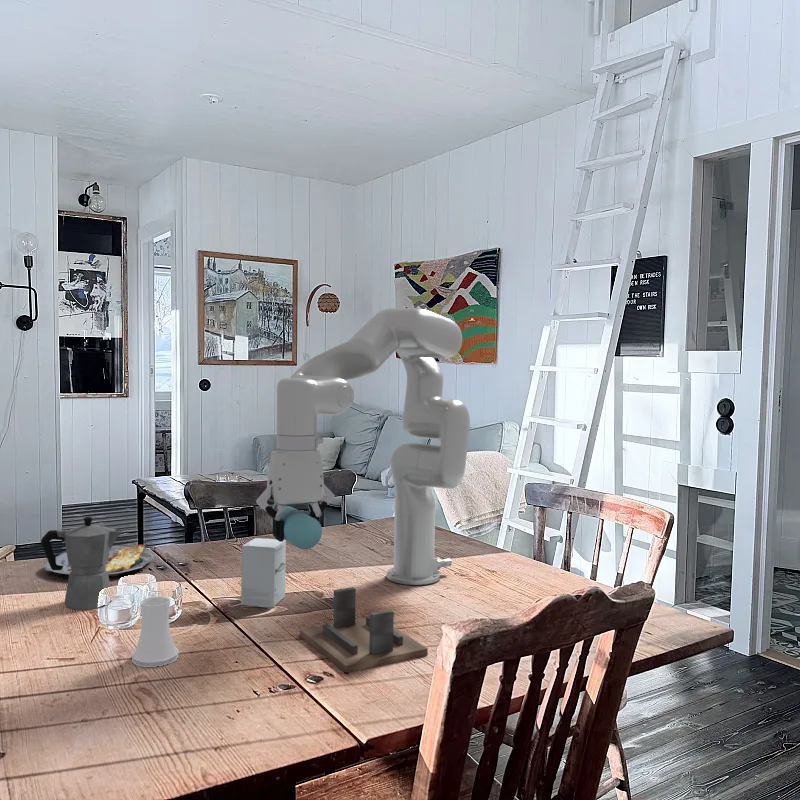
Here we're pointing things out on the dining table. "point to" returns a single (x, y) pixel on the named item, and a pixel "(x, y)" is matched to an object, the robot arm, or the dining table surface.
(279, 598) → the supplement box
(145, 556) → the food plate
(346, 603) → the roll holder
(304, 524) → the light blue cylinder
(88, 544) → the coffeepot
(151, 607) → the vase
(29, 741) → the dining table surface
